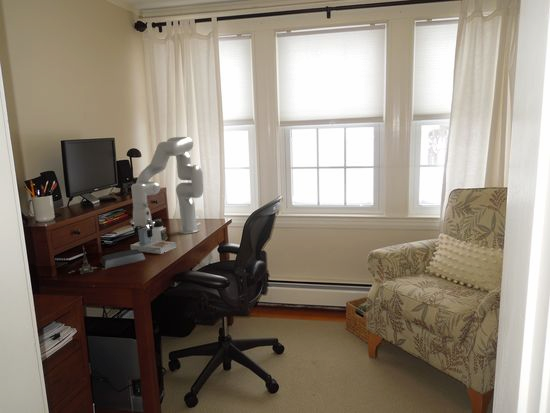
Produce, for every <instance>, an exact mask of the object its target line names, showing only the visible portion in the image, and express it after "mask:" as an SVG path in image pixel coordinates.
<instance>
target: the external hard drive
mask: <svg viewBox="0 0 550 413" xmlns="http://www.w3.org/2000/svg"><path fill="white" fill-rule="evenodd" d="M144 260H146V257H145V255H144V252H141V251H139V250H137V249H135V250H131V249H130V250H129V249H128V250H124V251H122V250H121V251H118V252H113V253H110V254H109V253H108V254H105V255H102V256H101V258H100V264H101V265H102V266H103V268H107V269H109V268H115V267H119V266H125V265H128V264H129V265H130V264H133V263H137V262H138V263H139V262H141V261H144Z"/></svg>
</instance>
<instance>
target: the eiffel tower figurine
mask: <svg viewBox="0 0 550 413" xmlns="http://www.w3.org/2000/svg"><path fill="white" fill-rule="evenodd" d="M82 250H83V264H82V267H81V268H79V269H78V271H80V275H81V274H88V273H93V272H94V270H95V269H99V267H96V266H91V265H90V263H89V262H88V259H87V256H86V252H85V247H84V246H82ZM101 269H102V270H107V269H108V268H105V267H101ZM74 272H75V270H71V271H70V272H68V274H71V273H74Z"/></svg>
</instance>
